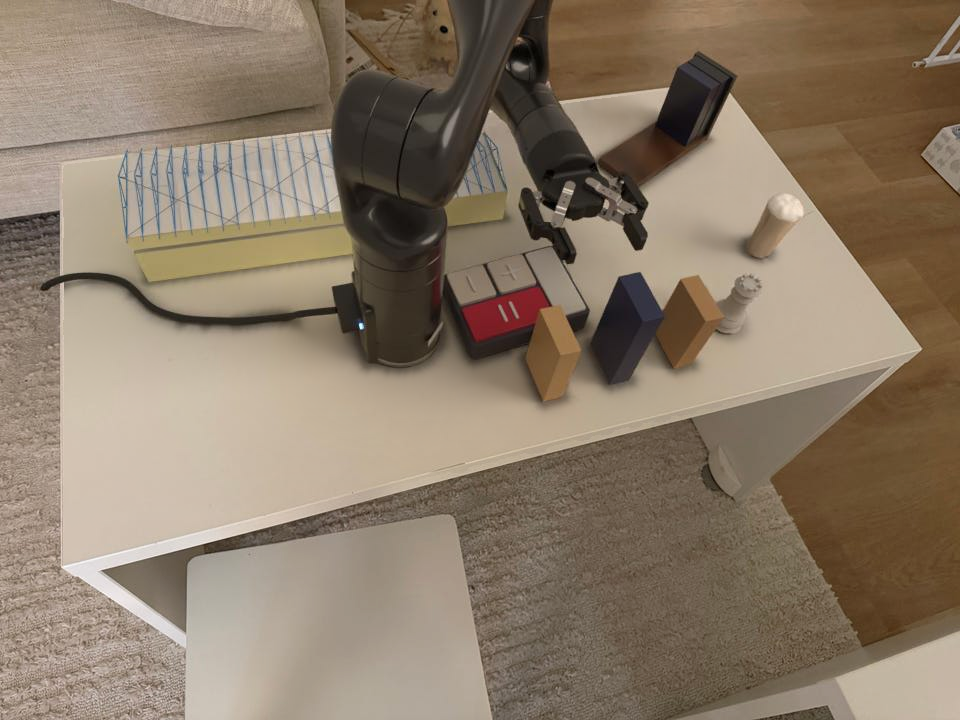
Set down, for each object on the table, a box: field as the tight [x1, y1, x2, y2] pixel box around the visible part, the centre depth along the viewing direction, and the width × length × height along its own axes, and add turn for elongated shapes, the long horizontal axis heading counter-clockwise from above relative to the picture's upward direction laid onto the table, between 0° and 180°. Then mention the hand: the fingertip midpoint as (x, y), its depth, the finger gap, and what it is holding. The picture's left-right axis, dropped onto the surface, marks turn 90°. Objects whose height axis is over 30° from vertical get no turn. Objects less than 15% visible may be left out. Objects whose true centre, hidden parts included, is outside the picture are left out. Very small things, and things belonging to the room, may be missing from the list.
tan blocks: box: [524, 274, 724, 402], centre depth 75 cm, size 19×6×10 cm, turn 108°
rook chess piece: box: [715, 273, 763, 334], centre depth 81 cm, size 4×4×8 cm
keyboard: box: [117, 129, 509, 283], centre depth 83 cm, size 45×15×10 cm, turn 105°
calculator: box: [443, 245, 591, 360], centre depth 80 cm, size 11×4×15 cm
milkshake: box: [745, 192, 815, 259], centre depth 87 cm, size 4×5×10 cm
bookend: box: [597, 50, 738, 188], centre depth 95 cm, size 18×7×11 cm, turn 133°
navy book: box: [589, 271, 665, 386], centre depth 74 cm, size 3×6×13 cm, turn 18°
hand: (607, 252), depth 74 cm, fingers open, 8 cm apart
